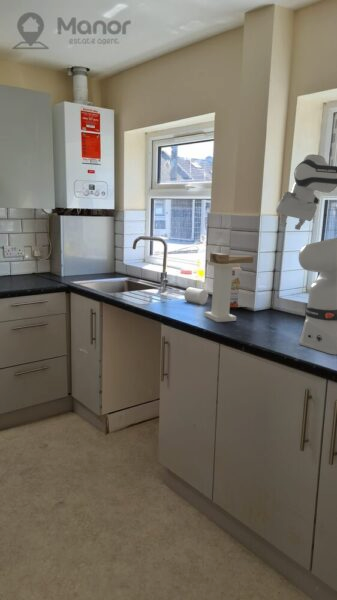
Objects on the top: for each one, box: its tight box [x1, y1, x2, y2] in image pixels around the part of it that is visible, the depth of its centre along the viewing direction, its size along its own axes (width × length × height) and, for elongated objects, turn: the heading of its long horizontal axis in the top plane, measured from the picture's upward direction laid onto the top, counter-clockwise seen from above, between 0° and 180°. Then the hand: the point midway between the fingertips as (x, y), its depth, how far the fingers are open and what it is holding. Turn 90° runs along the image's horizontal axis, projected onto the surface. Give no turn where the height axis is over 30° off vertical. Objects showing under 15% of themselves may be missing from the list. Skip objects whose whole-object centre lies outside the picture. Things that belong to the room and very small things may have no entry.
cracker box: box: [230, 268, 242, 308], centre depth 236 cm, size 14×6×21 cm, turn 105°
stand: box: [203, 260, 241, 323], centre depth 207 cm, size 12×10×26 cm
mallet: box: [209, 252, 254, 264], centre depth 207 cm, size 8×20×4 cm, turn 115°
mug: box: [184, 286, 209, 305], centre depth 244 cm, size 12×10×8 cm
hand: (289, 227), depth 189 cm, fingers open, 8 cm apart
